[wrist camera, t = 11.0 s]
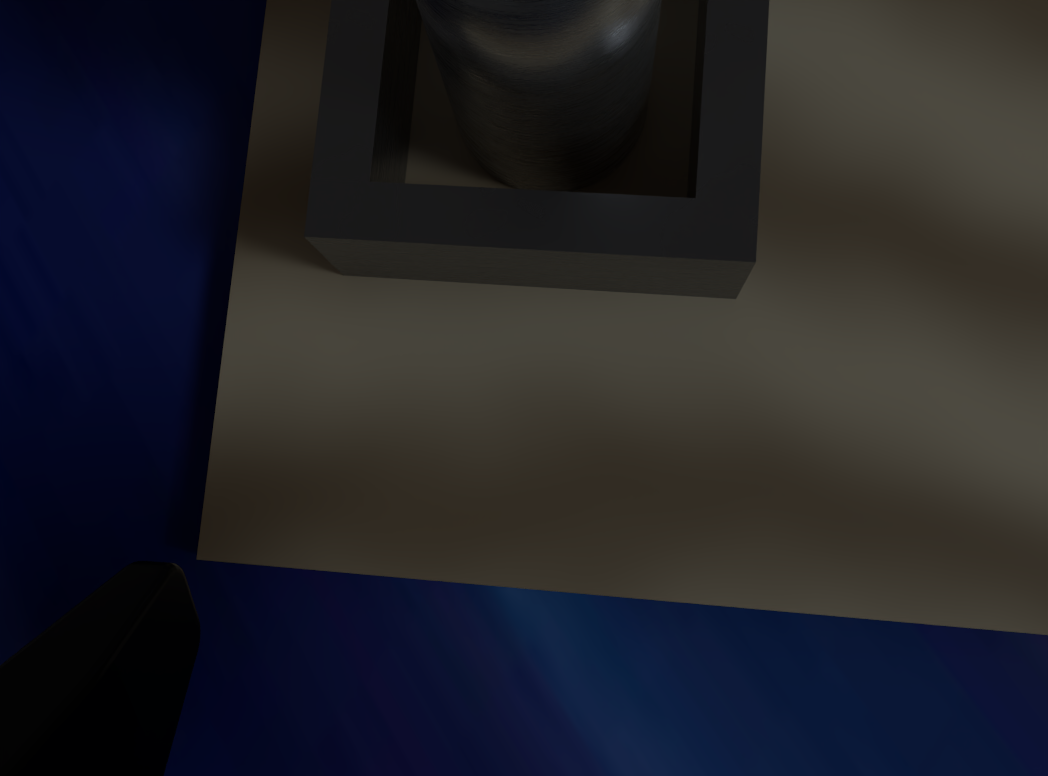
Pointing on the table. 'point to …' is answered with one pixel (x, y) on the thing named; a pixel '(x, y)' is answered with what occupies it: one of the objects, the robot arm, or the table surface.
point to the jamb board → (679, 349)
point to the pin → (546, 83)
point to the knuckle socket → (534, 215)
